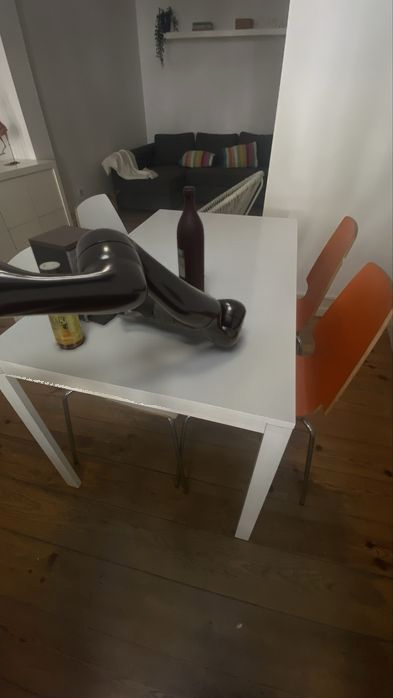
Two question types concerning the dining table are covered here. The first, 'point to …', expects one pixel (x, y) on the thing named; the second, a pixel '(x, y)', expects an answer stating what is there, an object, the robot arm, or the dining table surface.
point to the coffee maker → (63, 256)
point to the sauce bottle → (63, 317)
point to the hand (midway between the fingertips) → (107, 291)
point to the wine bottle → (190, 242)
